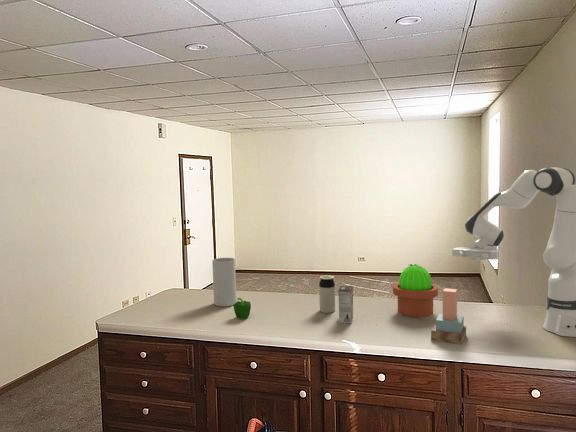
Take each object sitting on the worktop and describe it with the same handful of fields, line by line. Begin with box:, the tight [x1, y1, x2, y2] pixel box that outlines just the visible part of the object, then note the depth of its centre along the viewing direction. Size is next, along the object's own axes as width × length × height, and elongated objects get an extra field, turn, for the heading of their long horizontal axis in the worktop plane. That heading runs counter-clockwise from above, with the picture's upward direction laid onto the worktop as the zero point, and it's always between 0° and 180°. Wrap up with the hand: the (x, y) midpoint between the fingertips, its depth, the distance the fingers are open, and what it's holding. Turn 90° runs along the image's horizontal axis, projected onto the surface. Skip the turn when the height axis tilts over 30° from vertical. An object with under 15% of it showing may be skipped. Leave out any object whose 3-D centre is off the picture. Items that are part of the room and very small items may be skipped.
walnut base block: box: [430, 324, 467, 345], centre depth 202 cm, size 12×12×4 cm
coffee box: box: [338, 285, 354, 324], centre depth 228 cm, size 9×6×16 cm
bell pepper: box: [233, 297, 252, 320], centre depth 237 cm, size 8×8×10 cm
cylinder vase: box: [211, 257, 237, 308], centre depth 262 cm, size 12×12×25 cm
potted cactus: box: [392, 263, 439, 318], centre depth 237 cm, size 22×22×25 cm
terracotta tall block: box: [442, 287, 458, 320], centre depth 201 cm, size 5×5×12 cm
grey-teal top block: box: [435, 313, 465, 333], centre depth 201 cm, size 10×10×4 cm
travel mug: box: [318, 275, 336, 314], centre depth 244 cm, size 8×8×18 cm
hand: (472, 255), depth 216 cm, fingers open, 8 cm apart
